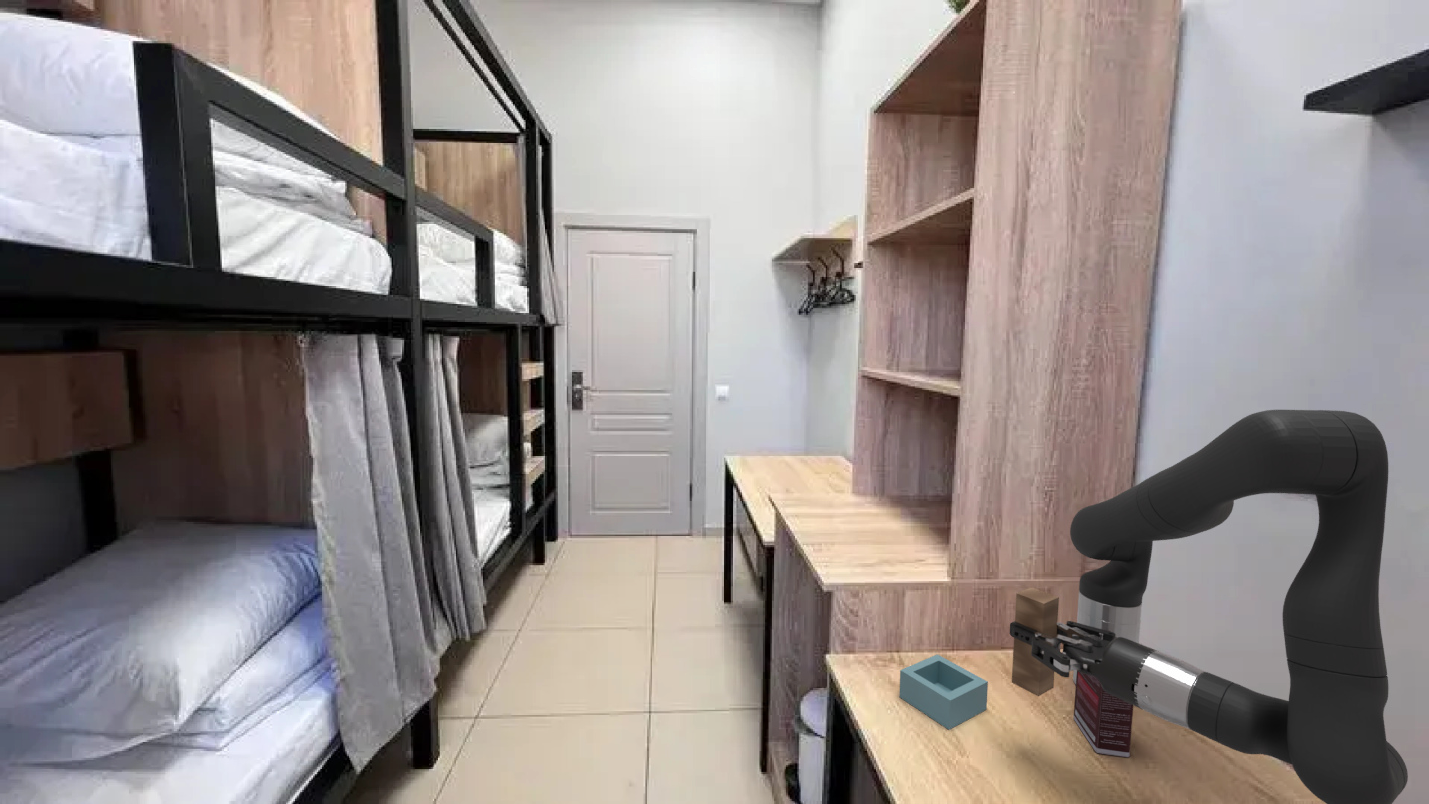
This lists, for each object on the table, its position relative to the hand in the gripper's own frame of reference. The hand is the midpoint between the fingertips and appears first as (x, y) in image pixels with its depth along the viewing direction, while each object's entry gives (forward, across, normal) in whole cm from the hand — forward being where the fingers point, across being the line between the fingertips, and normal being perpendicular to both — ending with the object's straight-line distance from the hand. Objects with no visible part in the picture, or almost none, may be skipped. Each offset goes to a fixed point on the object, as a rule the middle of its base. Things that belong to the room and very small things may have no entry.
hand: (1020, 624), depth 85 cm
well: (+12, +1, +20) cm, 23 cm away
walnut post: (-2, 0, +8) cm, 9 cm away
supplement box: (-6, -14, +20) cm, 25 cm away
